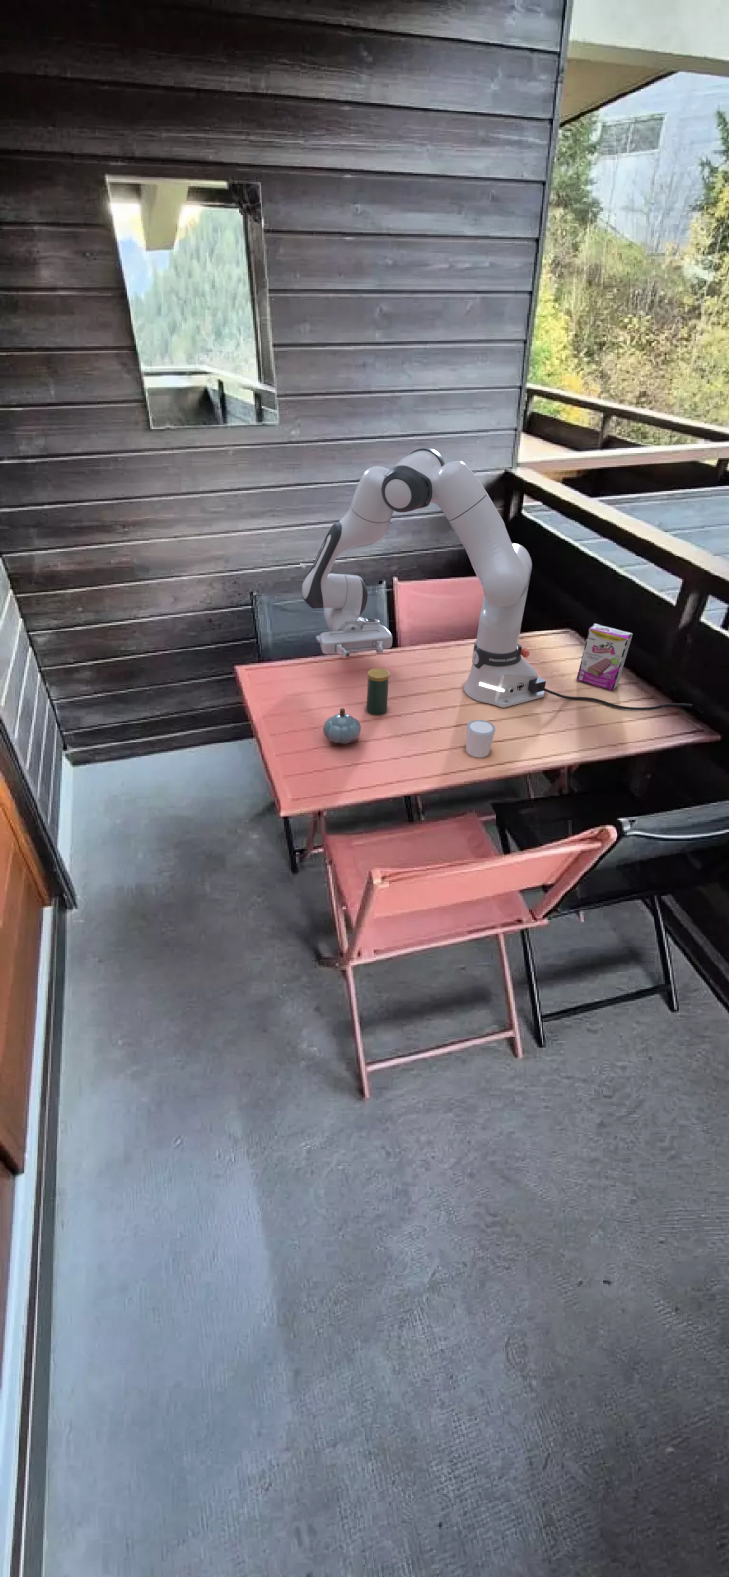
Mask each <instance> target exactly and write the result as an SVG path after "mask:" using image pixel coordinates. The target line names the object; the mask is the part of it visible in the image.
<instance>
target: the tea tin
mask: <svg viewBox="0 0 729 1577" xmlns="http://www.w3.org/2000/svg"><path fill="white" fill-rule="evenodd" d="M389 682H390V672H389V670H387V669H386V668H383V667H382V668H381V667H375V668H371V669H369V670H368V671H367V686H366V687H367V688H366V690H367V691H366V712H367V713H368V714H370V715H373V716H382V715H384V714H386V713H387V711H388V700H389V699H388V697H389Z"/></svg>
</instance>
